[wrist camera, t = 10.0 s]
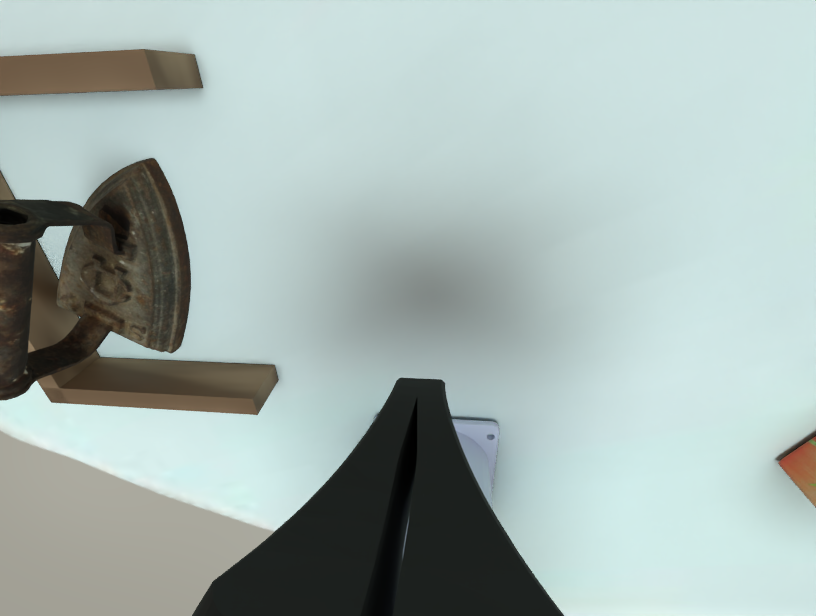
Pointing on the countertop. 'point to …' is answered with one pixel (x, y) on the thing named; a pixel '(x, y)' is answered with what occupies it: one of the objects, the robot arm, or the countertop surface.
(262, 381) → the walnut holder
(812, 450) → the cracker box
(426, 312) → the countertop surface
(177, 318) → the clothes iron
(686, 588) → the countertop surface
